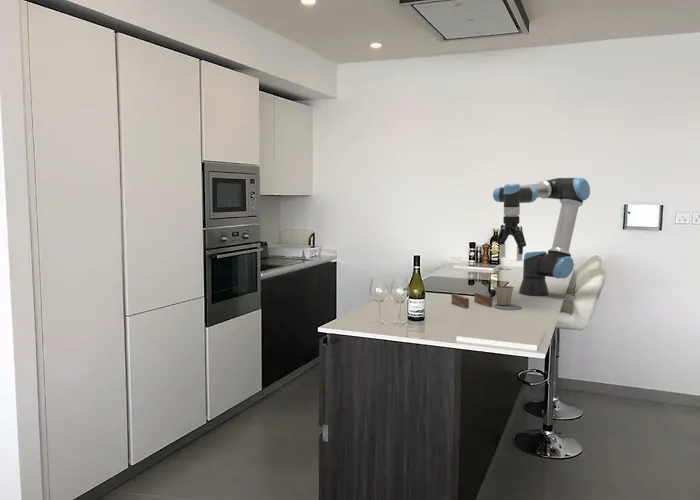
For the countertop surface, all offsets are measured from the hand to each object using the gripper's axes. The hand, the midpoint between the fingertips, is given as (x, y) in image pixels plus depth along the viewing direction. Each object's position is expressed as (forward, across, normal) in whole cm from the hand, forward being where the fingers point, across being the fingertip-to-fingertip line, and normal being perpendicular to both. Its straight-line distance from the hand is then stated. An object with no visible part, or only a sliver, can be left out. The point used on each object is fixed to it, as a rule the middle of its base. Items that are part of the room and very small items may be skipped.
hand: (510, 259), depth 290 cm
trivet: (+22, +7, -6) cm, 24 cm away
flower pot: (+22, +3, -6) cm, 23 cm away
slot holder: (+22, -4, -19) cm, 29 cm away
